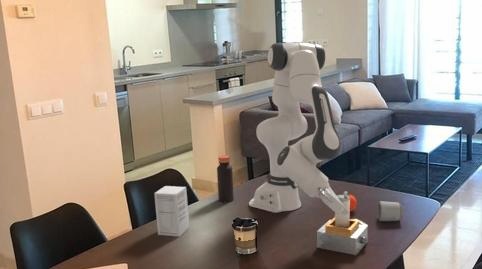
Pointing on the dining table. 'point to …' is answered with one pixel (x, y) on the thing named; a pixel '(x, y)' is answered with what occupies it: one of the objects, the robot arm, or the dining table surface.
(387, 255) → the dining table surface
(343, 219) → the spout can
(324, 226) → the block
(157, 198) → the supplement box
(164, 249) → the dining table surface
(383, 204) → the ceramic mug
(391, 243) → the dining table surface
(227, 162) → the bottle
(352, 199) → the clementine
